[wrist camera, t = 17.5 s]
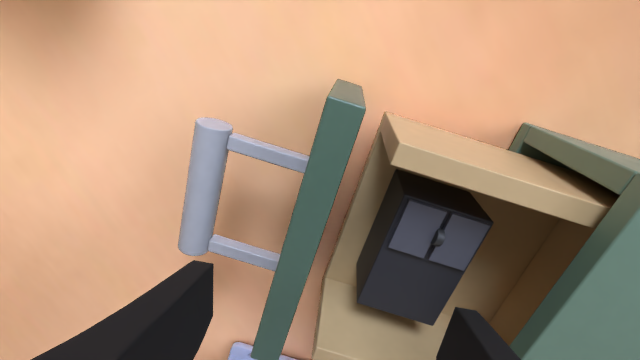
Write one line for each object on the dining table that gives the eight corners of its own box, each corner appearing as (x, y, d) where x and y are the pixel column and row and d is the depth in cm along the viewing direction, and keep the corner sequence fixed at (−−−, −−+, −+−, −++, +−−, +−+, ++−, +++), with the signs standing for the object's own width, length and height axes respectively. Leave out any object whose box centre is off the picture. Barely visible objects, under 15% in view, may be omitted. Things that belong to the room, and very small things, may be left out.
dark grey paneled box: (356, 263, 17) (356, 312, 14) (395, 168, 15) (406, 200, 12) (420, 283, 17) (436, 337, 14) (469, 191, 15) (500, 230, 12)
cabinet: (418, 312, 20) (451, 450, 13) (523, 121, 16) (660, 181, 9) (621, 375, 21) (759, 542, 14) (788, 206, 16) (1133, 331, 9)
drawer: (202, 248, 19) (142, 326, 14) (238, 46, 15) (171, 46, 9) (479, 333, 19) (527, 441, 14) (596, 160, 15) (729, 222, 10)
